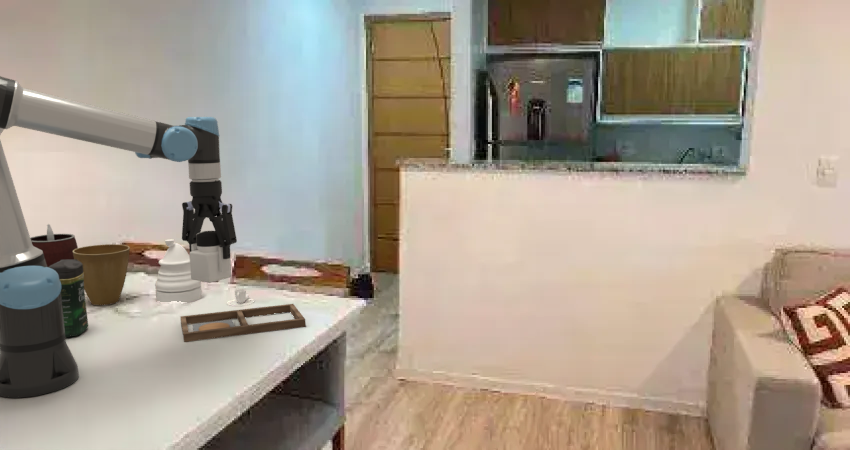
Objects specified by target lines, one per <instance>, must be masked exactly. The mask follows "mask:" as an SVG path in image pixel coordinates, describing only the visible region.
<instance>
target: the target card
mask: <svg viewBox="0 0 850 450" xmlns="http://www.w3.org/2000/svg"><path fill="white" fill-rule="evenodd" d="M191 325H192V329H193V331H202V330H210V329H218V328H226V327H234V326H235V323H234V321H233V319H229V320H220V321H212V322H203V323H195V324H191Z"/></svg>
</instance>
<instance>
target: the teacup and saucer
mask: <svg viewBox="0 0 850 450" xmlns="http://www.w3.org/2000/svg"><path fill="white" fill-rule="evenodd" d="M234 295H235V298H233V299H230V300H228V301H227V302H226V305H227V306H229V307H230V306H232V307H242V306H243V307H245V306H249V305H252V304H251V303H250V302H249V303H250V304H249V305H248V303H245V302H246V301H250V300H254V301H256V300H255V299H253V298H250V294H249V293H247V289H246V288H238V289H235V290H234ZM234 301H236V303H237V304H232V302H234ZM254 301H253V302H254ZM244 303H245V304H246V305H245V304H244ZM254 303H255V302H254ZM244 305H245V306H244Z"/></svg>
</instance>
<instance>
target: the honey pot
mask: <svg viewBox="0 0 850 450" xmlns="http://www.w3.org/2000/svg"><path fill="white" fill-rule="evenodd" d="M164 243H165V245H166V246H167V247H168V248H167V250H166V251H165V253H164V255H163V258H161V259H160V260H158V264H159V265H160V267H159V270H158V272H157V274H158V275H157V278H156V280H155V284H154V286H155V301H156V300H157V301H160V302H171V301H177V302H179V301H181V302H187V303H186V304H188V303H189V304H190V303H193V302H196V301H199V300H200V299H201V298H203V296H202V295H203V294H202V283H201V282H202V281H198V280H192V279H191V270H190V255H189V252H188V251H187V249H186V248H185V247H184V246H182V244H180V243H177V242H175V239H171V238H170V239H165V240H164ZM157 301H156V302H157Z"/></svg>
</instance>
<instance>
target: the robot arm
mask: <svg viewBox="0 0 850 450" xmlns="http://www.w3.org/2000/svg"><path fill="white" fill-rule="evenodd" d="M218 123H219V122H218V120H217V119H216V118H215V117H214V116H188V117H186V118H185V123H184V124H179V125H172V124H168V123H165V122H161V121H155V120H153V119H148V118H145V117H140V116H136V115H133V114H129V113H125V112H121V111H116V110H113V109H110V108H105V107H102V106H97V105H92V104H89V103H85V102H82V101H77V100H73V99H69V98H65V97H61V96H58V95H57V96H56V95H53V94H49V93H46V92H40V91H38V90H33V89H29V88H25V87H23V86H22V85H21V84H20V83H19V81H18V80H14V79H10V78H7V77H4V76H1V75H0V136H1V134H2V133H3V131H4V130H8V129H10V128H12V127H19V128H21V129H22V128H23V129H27V130H33V131H35V132H42V133H47V134H51V135H56V136H58V137H59V136H60V137H65V138H69V139H73V140H79V141H84V142H86V143H92V144H96V145H101V146H106V147H110V148H116V149H120V150H124V151H129V152H133V153H134V154H135V156H136V157H137V158H140V159H164V160H169V161H172V162H177V163H182V162H186V161H187V163H188V178H189V179H190V181H189V195H190V196H191V198H192V199H191V200H190V201H184V202H182V203H181V206H182V212H183V213H182V215H183V217H182V229H181V230H182V231H181V239H182V241H183V242H184V241H185V242H187V244H189V245H188V246H189V253H190V252H192V251H196V250H198V249H197V242H196V235H197V234H198V233H200V232H202V229H203V225H204V221H205V219H206V218H207V219H209V221H210V222H211V224H212V226H213V228H214V231H216V234H217V236H218V239H219V241H220V244H221V245H220V246H219V247H218V252H219V269H220V273H223V272H226V271H229V258H230V259H231V245H234V244H236V243H237V242H238V241H237V239H238V238H237V235H236V229H235V223H234V219H233V213H232V212H233V204H232V203H225V202H223V201H222V198H221V196H222V194H223V188H222V187H223V185H222V181H221V180H220V179H221V177H222V173H221V171H222V170H221V156H220V154H221V153H220V152H221V151H220V133H219V132H220V131H219V130H220V129H219V124H218ZM1 141H2V140H0V397H3V398H11V399H12V398H14V399H15V398H18V399H19V398H30V397H36V396H42V395H45V394H49V393H53V392H56V391H59V390H62V389H64V388H66V387H69V386H70V385H72V384H73V383H75V382H76V381H77V380H78V378H79V366H78V363H77V361H76V358H75V357H74V356H73V354H72V351H71V350H70V348H69V346H68V343H67V341H66V339H67V338H65V329H64V319H63V309H62V299H61V282H60V280H59V275H58V273H57V272H56V271H55V270H53V269H51V268H49V267H47V264H46V261H45V258H44V254H43V251H42V250H40V249H38V248H36V247H34V246H33V245H32V242H31V239H30V238H31V236H30V235H31V234H30V232H29V229H28V226H27V224H26V219H25V217H24V213H23V210H22V207H21V204H20V199H19V197H18V193H17V190H16V187H15V183H14V180H13V177H12V174H11V171H10V167H9V164H8V161H7V157H6V155H5V150H4V147H3V145H2V142H1Z"/></svg>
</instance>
